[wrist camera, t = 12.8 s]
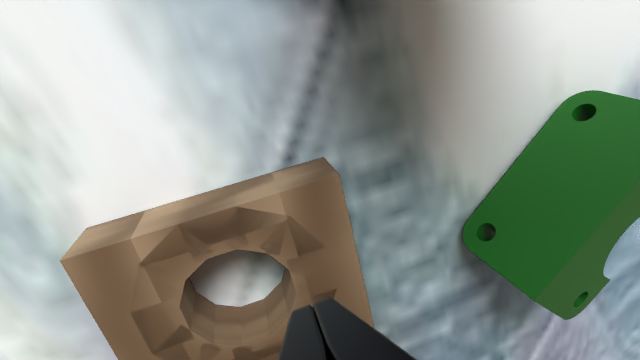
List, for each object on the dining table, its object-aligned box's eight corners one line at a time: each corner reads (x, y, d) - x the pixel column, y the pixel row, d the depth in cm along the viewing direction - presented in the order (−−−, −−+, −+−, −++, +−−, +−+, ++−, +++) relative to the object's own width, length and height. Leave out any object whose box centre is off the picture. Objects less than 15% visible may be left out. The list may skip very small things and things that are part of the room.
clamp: (475, 218, 28) (541, 335, 22) (435, 186, 25) (501, 315, 19) (643, 119, 23) (792, 236, 17) (622, 62, 20) (800, 182, 13)
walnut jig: (323, 157, 19) (339, 173, 16) (379, 389, 26) (397, 430, 23) (86, 228, 17) (59, 260, 15) (210, 458, 24) (207, 510, 21)
